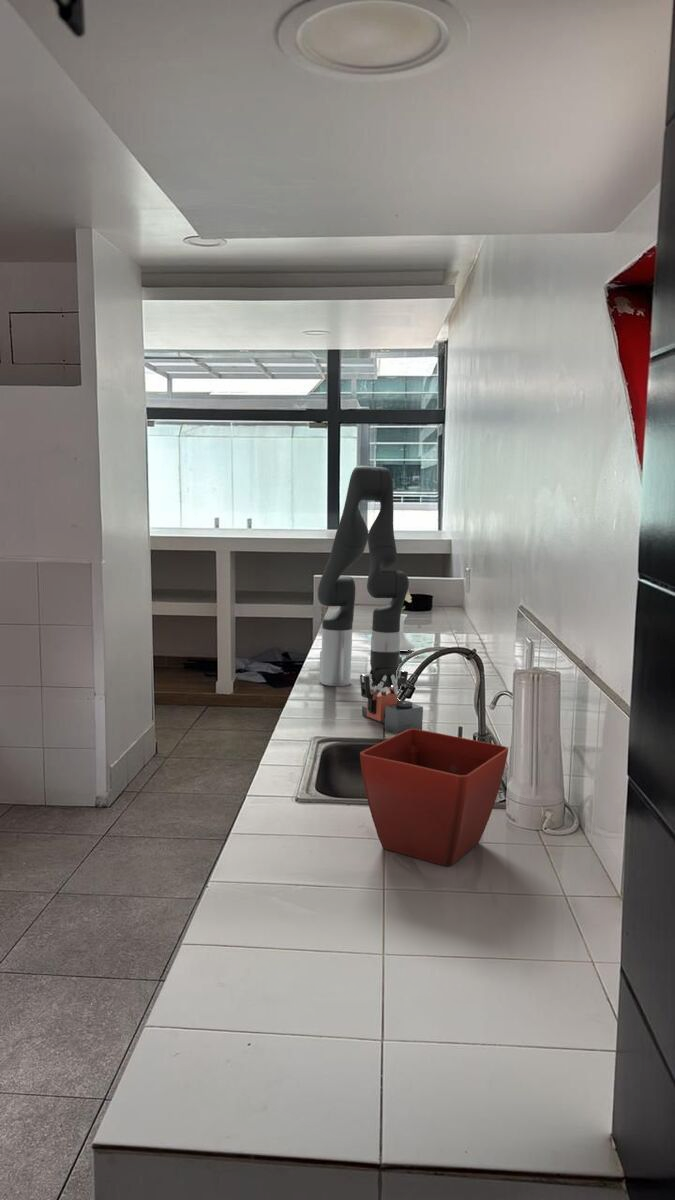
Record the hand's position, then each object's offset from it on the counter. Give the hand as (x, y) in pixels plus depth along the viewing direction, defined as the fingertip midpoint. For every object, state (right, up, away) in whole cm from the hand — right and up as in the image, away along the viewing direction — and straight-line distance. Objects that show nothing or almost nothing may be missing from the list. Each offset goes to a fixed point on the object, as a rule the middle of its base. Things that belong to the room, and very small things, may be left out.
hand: (382, 711), depth 226 cm
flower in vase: (+11, +10, +103) cm, 104 cm away
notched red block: (0, -1, 0) cm, 1 cm away
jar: (+2, 0, +27) cm, 27 cm away
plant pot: (+4, -13, -78) cm, 79 cm away
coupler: (+1, -3, -1) cm, 3 cm away
